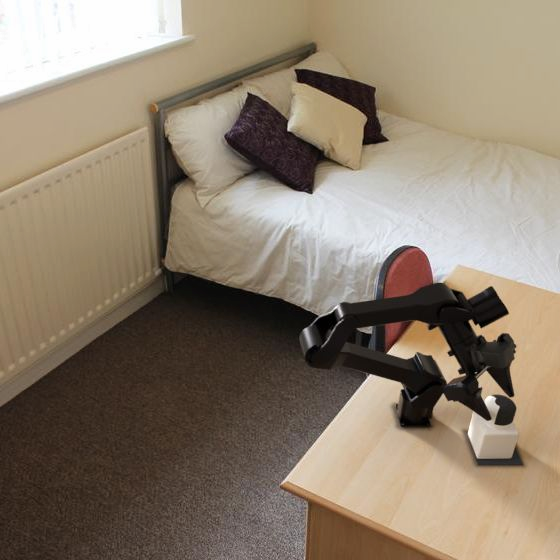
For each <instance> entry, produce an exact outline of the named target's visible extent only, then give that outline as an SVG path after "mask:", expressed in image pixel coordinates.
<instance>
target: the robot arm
mask: <svg viewBox="0 0 560 560" xmlns="http://www.w3.org/2000/svg"><path fill="white" fill-rule="evenodd" d="M508 315H510V312H509V310H508V308H507V306H506V305H505V303H504V302H503V300H502V299H501V298H500V296H499V294H498V293H497V290H496V289H495V288H494V286H492V285H490V286H488V287H486V288H485V289H484V290H482V291H481V292H479V293H477V294H475V295H473V296H471V297H469V298H467V296H466V294H465V293H464V292H463V291H460V290H458V289H455V288H451V287H450V286H449V285H447V284H446V283H444V282H434V283H430V284H428V285H424V286H420V287H419V288H417V289H416V290H415V291H414V292H412V293H409V294H406V295H399V296H392V297H385V298H378V299H370V300H364V301H358V302H357V301H356V302H348V301H342V302H339V303H338V304H337V305H336V306H334V308H333V309H332V310H330V311H328V312H325V313H324V314H321V315H319V316H317V317H316V318H315V319H314V321H312V323H311V324H310V325H308V326H307V327H305V328H304V329H302V331H300V335H299V336H298V337H299V338H298V339H299V343H300V347H301V351H302V355H303V359H304V361H305V364H306V365H307V366H308V367H310V368H312V369H317V370H325V371H326V370H327V371H331V370H335V369H337V368H341V367H342V368H346V369H350V370H353V371H357V372H361V373H364V374H368V375H372V376H375V377H379V378H383V379H386V380H388V381H393V382H397V383H400V384H401V386H402V389H400V392H399V397H398V403H396V404H395V406H394V407H395V412H396V415H397V421H398V424H399V426H400V427H401V428H430V427H431V425H432V424H431V421H430V420H431V419H432V418H433V412H434V408H435V407H436V405H437V404H438V402H439V401H440V399H441V398H442V396H443V395H444V398H445V399H446V401H447V402H451V401H452V402H453V403H455V402H457V403H460V404H461V405H462V406H465V407H466V408H468V409H469V410H471V411H472V412H473V411H474V412H475V413H477V414H478V415H479V416H481V417H482V418H484V419H485V420H486V421H490V420H492V418H491V415H490V413H489V411H488V409H487V407H486V405H485V400H484V399H483V396H482V392H483V386H481V387H479V385H480V384H479V380H478V379H479V378H480V377H481V376H483V374H484V373H485V372H487V373H488V375H489V376H490V377H491V378H492V379H493V380H494V381H495V383H496V384H497V385H498V386H499V388H500V389H501V390H502V391H503V392H504V393H505V395H506V396H507V397H508V398H510V399H511V398H514V397H515V390H514V385H513V382H512V376H511V365H512V363H513V361H515V354H516V353H517V351H516V348H517V347H518V346H517V344H516V343H515V340H514V339H513V338H512V336H511V335H510V334H509V333H507V332H501V334H500V335H499V336H497V338H496V339H493V340H492V341H488V340H486V339H487V338H485V336H484V335H482V334H479V335H477V333H476V332H475V329H474V328H473V327H472V324H471V323H470V321H472V323H473V325H474V326H475V327H476V326H477V325H478V326H479V328H480V329H483V328H486V327H488V326H489V325H491V324H493V323H496V321H498V320H500V319H503V318H504V317H507V316H508ZM414 321H415V322H420V323H422V324H423V323H424V324H426V328H427V330H428V331H433V330H434V329H436V328H438V330H439V331H440V333H441V335H442V337H443V339H444V340H445V343H446V344H447V346H448V348H449V350H448V351H447V355H448V357H449V358H450V357H454V358H455V360H456V362H457V363H458V366H459V369H457V372H458V374H459V376H458V377H455V378H452V379H451V380H450V381H449V382H448V381H447V379H446V378H445V376H444V373H443V371H442V370H441V367H440V366H439V364H438V363H437V361H436V359H435V358H434V357H433V356H432V355H431V354H428V355H427V354H424V353H421V352H419V351H416V352H415V353H414V356H412V357H409V358H403V357H399V356H397V355H396V356H395V355H393V354H389V353H386V352H382V351H379V350H375V349H372V348H369V347H365V346H361V345H359V344H355V343H351V342H348V339H349V337H350V336H351V335H352V334H353V333H354V332H355V331H356V330H357V329H364V328H370V327H371V328H372V327H377V326H384V325H392V324H398V323H405V322H414ZM332 327H333V329H332V330H331V328H332Z"/></svg>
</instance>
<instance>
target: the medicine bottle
mask: <svg viewBox="0 0 560 560" xmlns="http://www.w3.org/2000/svg"><path fill="white" fill-rule="evenodd" d="M484 403H485V405H486V407H487V409H488V411H489V413H490V415H491V418H492V420H490V421H486V420H485V419H484V418H482V417H481V416H479V415H478V414H477V413H475V412H474V411H472V416H471V418H470V423H469V427H468V431H467V432H468V435H467V437H468V436H469V438H468V440H469V439H470V441H471V444H472V446H473V449H474V452H475V454H476V457H477V458H478V459H506V458H512V455H513V452H514V448H515V447H516V445H517V441H518V438H519V435H520V432H519V430H518V428H517V426H516V424H515V421H514V420H515V415H516V413H517V405H516V404H515V401H514V400H513V399H511V398H510V397H509V396H507V395H503V394H491V395H489V396H487V397H486V398H485V400H484ZM470 441H469V442H470ZM471 444H470V445H471ZM472 446H471V447H472ZM473 449H472V450H473ZM474 452H473V453H474Z"/></svg>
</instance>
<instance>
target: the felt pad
mask: <svg viewBox="0 0 560 560" xmlns="http://www.w3.org/2000/svg"><path fill="white" fill-rule="evenodd" d="M466 435H467V437H468V441H469V444H470V446H471V449H472V453H473V455H474V458H475V460H476V463H477V466H523V465H524V464H523V462H522V459H521V456H520V455H519V452H518V449H517V447H516V446H515V448H514V452H513V455H512V458H506V459H478V458H477V457H476V454H475V452H474V449H473V446H472V444H471V441H470V439H469V436H468V431H466Z"/></svg>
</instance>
